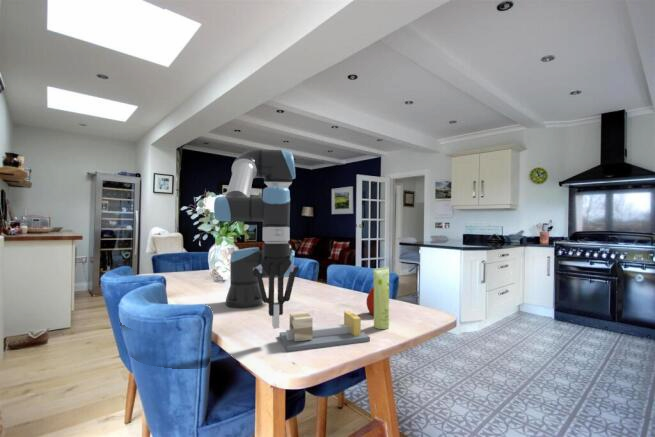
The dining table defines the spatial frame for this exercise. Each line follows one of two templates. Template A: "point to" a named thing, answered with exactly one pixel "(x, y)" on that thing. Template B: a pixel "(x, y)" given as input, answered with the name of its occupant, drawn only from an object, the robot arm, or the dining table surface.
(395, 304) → the dining table surface
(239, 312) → the dining table surface
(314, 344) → the rail board
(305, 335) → the beige wooden sliding block
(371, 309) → the apple
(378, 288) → the tube
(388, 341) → the dining table surface
